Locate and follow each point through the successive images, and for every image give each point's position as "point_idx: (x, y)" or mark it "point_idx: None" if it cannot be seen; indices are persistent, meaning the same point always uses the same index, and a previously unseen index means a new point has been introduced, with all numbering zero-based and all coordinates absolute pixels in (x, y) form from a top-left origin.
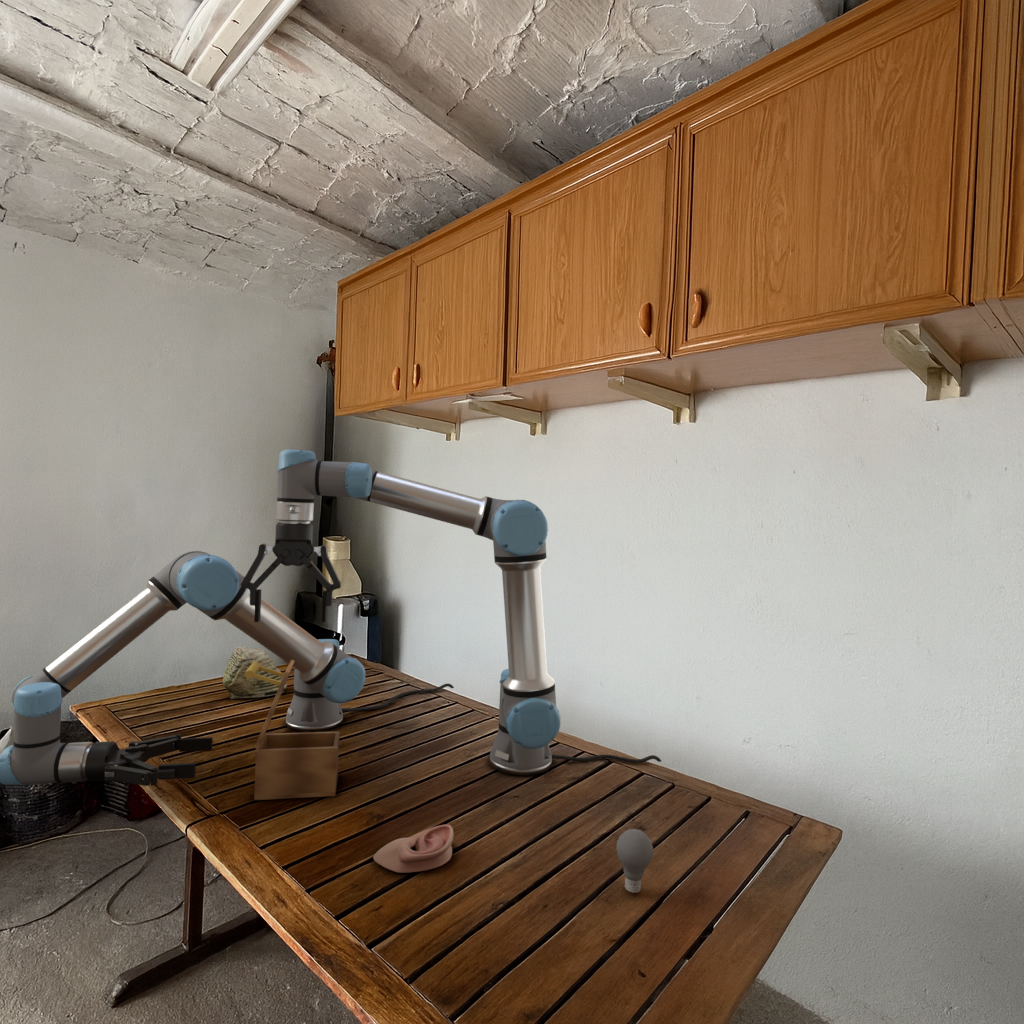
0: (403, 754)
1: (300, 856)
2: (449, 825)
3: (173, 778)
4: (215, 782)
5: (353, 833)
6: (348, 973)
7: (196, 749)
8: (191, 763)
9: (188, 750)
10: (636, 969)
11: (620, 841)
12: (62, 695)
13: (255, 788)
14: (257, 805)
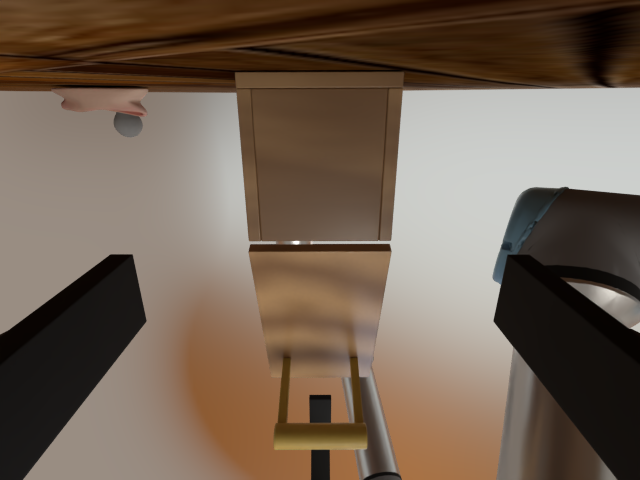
0: (433, 85)
1: (6, 80)
2: (143, 116)
3: (28, 319)
4: (472, 48)
5: (132, 83)
6: None
7: (559, 313)
8: (131, 332)
9: (608, 348)
10: (27, 90)
11: (123, 131)
12: None
13: (239, 117)
14: (200, 71)
